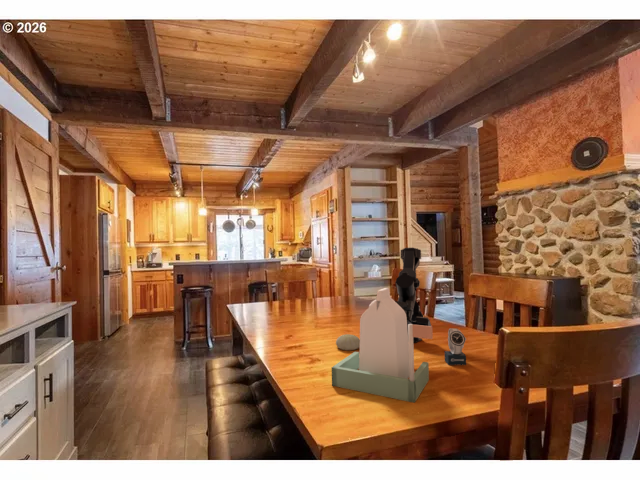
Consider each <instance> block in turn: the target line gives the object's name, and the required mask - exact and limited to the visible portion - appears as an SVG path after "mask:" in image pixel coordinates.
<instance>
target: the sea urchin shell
mask: <svg viewBox="0 0 640 480" xmlns="http://www.w3.org/2000/svg"><path fill="white" fill-rule="evenodd" d="M335 344H336V347H337V348H338V349H340V350H342V351H355V350H358V349H360V337H359V336H357V335H354V334H347V333H346V334H342V335H340V336H338V337H337V338H336V340H335Z"/></svg>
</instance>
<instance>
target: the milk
mask: <svg viewBox="0 0 640 480" xmlns="http://www.w3.org/2000/svg"><path fill="white" fill-rule="evenodd" d="M376 293H377V294H376V296H375V297H376V298H375V299H373V300H372V301H371V302H370V304H369V305H368V308H366V310H365V311H364V312H363V313H362V314H361V316H360V319H359V340H360V347H359V351H358V352H359V369H358V370H360V371H366V372H372V373H378V374H383V375H389V376H395V377H400V378H406V379H409V343H408V330H407V317H406V313H405V311H404V310H403V309H402V308H401V307H400V306H399V305H398V304H397V303H396V302H395V301H396V300H395V299H393V298H392V297H391V293H390V288H389V287H384V288H383V287H382V288H381V289H377V292H376Z"/></svg>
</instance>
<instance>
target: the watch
mask: <svg viewBox="0 0 640 480" xmlns="http://www.w3.org/2000/svg"><path fill="white" fill-rule="evenodd" d="M447 335H448V337H447V343H448V348H449V350H445V351H444V361H445V363H446V364H447V365H448V366H467V355H466V354H465V353H464V352H463V349H464V345H465V343H466V341H467V337H466V336H465V335H464V334H463V332H462V330H460V329H458V328H449V329H448V331H447Z"/></svg>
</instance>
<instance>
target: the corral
mask: <svg viewBox="0 0 640 480" xmlns="http://www.w3.org/2000/svg"><path fill="white" fill-rule="evenodd" d="M433 335H434V334H433V325H431V326H423V325H413V324H408V344H409V378H408V379H406V378H400V377H395V376H389V375H383V374H378V373H372V372H366V371H360V370H359V351H354V352H352V353H350V355H348V356H346V357H345V358H344V359H342V360H340V361H338V362H337V363H336V364H334V365H333V366H332V367H331V386H333V387H337V388H342V389H346V390H352V391H356V392H357V391H358V392H361V393H366V394H371V395H375V396H381V397H386V398H389V399H390V398H391V399H395V400H398V401H399V400H400V401H405V402H409V403H416V401H417V399H418V398H419V397H420V394H422V392H423V390H424V389H425V387H426V385H427V384H428V382H429V380H430V374H429V372H430V371H429V367H430V366H429V362H428V361H422V363H421V364H420V365H419V367H418V368H416V370H415V355H414V353H415V352H414V343H413V337H418V338H422V339H428V340H433V337H434V336H433Z"/></svg>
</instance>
